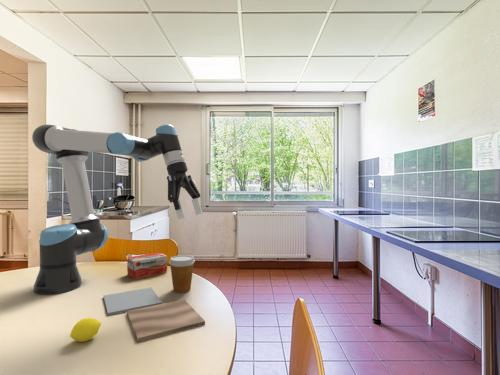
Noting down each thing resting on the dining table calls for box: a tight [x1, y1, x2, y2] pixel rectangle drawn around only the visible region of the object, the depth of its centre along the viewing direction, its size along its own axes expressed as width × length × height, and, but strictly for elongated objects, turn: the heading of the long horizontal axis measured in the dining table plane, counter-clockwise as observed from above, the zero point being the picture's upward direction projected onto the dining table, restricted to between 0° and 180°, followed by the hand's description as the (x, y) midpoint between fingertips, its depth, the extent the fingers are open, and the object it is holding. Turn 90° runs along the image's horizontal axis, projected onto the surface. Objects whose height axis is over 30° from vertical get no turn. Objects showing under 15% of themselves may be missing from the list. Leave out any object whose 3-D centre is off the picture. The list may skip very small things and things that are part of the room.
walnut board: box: [126, 299, 206, 343], centre depth 84 cm, size 18×18×1 cm
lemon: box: [69, 317, 102, 343], centre depth 73 cm, size 7×5×5 cm
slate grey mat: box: [103, 287, 163, 316], centre depth 97 cm, size 16×16×1 cm
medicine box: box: [126, 252, 168, 280], centre depth 128 cm, size 15×8×8 cm, turn 131°
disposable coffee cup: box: [168, 254, 196, 293], centre depth 108 cm, size 10×10×12 cm
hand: (191, 216), depth 110 cm, fingers open, 13 cm apart
